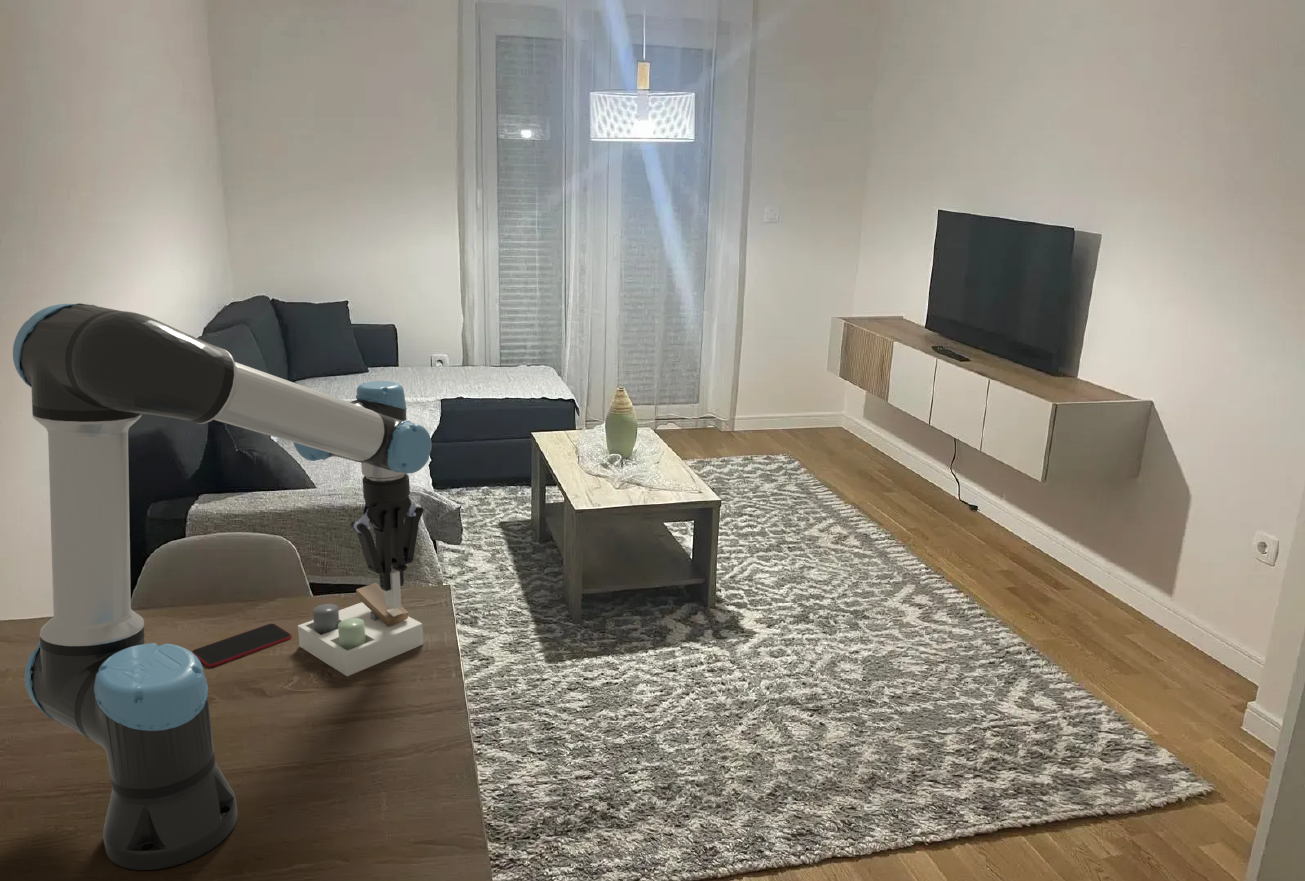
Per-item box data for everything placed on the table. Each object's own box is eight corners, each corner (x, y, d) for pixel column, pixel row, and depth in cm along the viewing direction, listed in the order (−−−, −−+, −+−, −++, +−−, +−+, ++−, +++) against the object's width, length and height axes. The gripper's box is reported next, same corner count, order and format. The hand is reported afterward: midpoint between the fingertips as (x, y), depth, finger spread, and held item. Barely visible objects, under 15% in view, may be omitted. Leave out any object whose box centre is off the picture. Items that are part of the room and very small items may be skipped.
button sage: (348, 653, 162) (346, 632, 160) (334, 645, 164) (332, 624, 163) (370, 644, 165) (369, 623, 163) (356, 636, 167) (355, 615, 166)
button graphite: (322, 637, 167) (320, 617, 166) (309, 630, 169) (307, 609, 168) (344, 629, 170) (343, 608, 169) (331, 621, 172) (329, 601, 171)
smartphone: (293, 635, 173) (209, 665, 162) (294, 640, 173) (209, 670, 163) (272, 622, 178) (189, 651, 167) (273, 626, 178) (190, 655, 167)
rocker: (387, 626, 168) (388, 619, 168) (355, 595, 174) (356, 588, 173) (407, 618, 171) (408, 611, 171) (375, 588, 177) (375, 581, 176)
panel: (347, 676, 161) (344, 647, 159) (299, 646, 170) (297, 618, 169) (423, 644, 171) (421, 616, 170) (374, 617, 181) (372, 591, 179)
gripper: (363, 488, 156) (372, 624, 162) (431, 471, 165) (437, 600, 171) (338, 478, 160) (347, 610, 167) (405, 461, 170) (412, 587, 176)
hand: (393, 605), depth 169 cm, fingers closed
